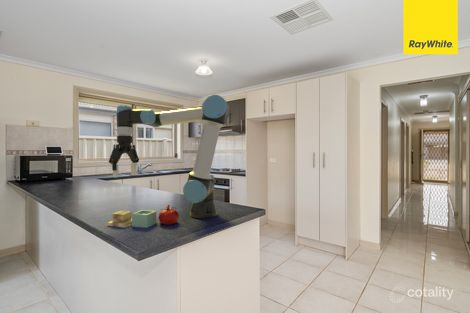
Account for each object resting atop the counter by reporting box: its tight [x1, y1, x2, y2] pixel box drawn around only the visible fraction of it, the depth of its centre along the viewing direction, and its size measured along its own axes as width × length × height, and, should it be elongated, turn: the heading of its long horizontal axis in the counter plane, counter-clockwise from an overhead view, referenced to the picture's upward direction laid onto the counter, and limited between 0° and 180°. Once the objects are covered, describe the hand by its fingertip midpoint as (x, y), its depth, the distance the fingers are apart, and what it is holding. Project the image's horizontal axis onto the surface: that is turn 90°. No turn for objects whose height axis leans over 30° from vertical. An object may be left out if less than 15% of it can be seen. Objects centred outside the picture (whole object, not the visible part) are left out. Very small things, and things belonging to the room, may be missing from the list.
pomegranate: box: [158, 204, 180, 226], centre depth 122 cm, size 10×10×9 cm
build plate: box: [107, 210, 133, 228], centre depth 120 cm, size 10×10×6 cm
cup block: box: [131, 209, 157, 229], centre depth 119 cm, size 8×8×6 cm
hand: (125, 175), depth 130 cm, fingers open, 13 cm apart
